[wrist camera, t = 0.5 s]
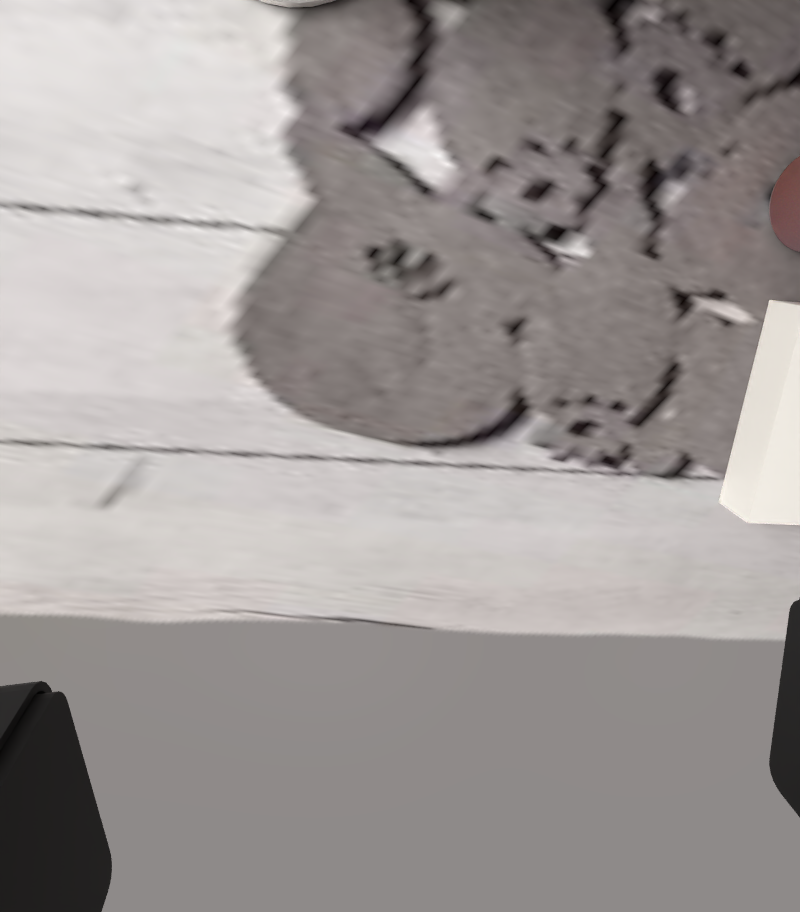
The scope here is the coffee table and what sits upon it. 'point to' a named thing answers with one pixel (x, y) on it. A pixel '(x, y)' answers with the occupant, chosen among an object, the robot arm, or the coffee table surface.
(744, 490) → the can holder
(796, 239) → the beverage can
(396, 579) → the coffee table surface
